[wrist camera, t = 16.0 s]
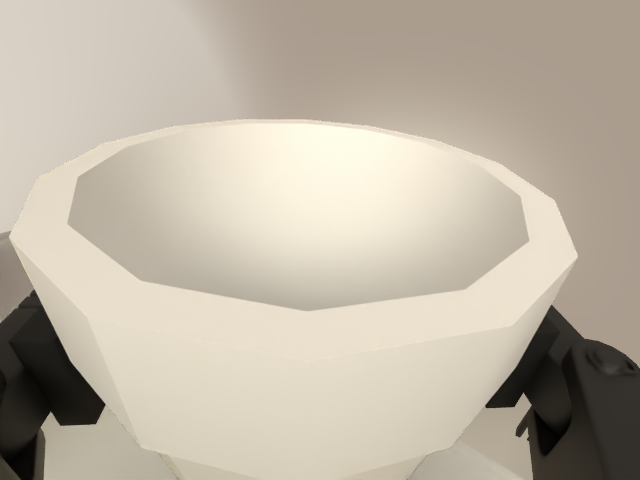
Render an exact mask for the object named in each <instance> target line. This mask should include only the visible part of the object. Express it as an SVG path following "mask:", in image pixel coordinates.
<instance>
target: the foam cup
mask: <svg viewBox="0 0 640 480" xmlns="http://www.w3.org/2000/svg"><path fill="white" fill-rule="evenodd" d="M9 239H10V241H11V243H12V245H13V247H14V249H15V251H16V253H17V255H18V257H19V259H20V261H21V263H22V265H23V267H24V269H25V271H26V273H27V275H28V277H29V279H30V281H31V283H32V285H33V287H34V289H35V291H36V293H37V295H38V297H39V299H40V301H41V303H42V305H43V307H44V309H45V311H46V313H47V315H48V317H49V319H50V321H51V323H52V325H53V327H54V329H55V331H56V333H57V335H58V337H59V339H60V341H61V343H62V345H63V347H64V349H65V351H66V353H67V355H68V357H69V359H70V361H71V362H72V364H73V365H74V366H75V367H76V369H77V370H78V371H79V372H80V373H81V375H82V376H83V377H84V378H85V380H86V381H87V382H88V383H89V384H90V386H91V387H92V388H93V389H94V391H95V392H96V393H97V394H98V395H99V397H100V398H101V399H102V400H103V402H104V403H105V404H106V405H107V406H108V408H109V409H110V410H111V411H112V412H113V414H114V415H115V416H116V417H117V419H118V420H119V421H120V422H121V423H122V425H123V426H124V427H125V428H126V430H127V431H128V432H129V433H130V434H131V436H132V437H133V438H134V439H135V441H136V442H137V443H138V444H139V445H140V447H141V448H143V449H147V450H151V451H155V452H158V453H159V454H160V455H161V457H162V458H163V459H164V461H165V462H166V463H167V465H168V466H169V467H170V469H171V470H172V471H173V473H174V474H175V475H176V477H177V478H178V479H179V480H407V479H408V478H409V477H410V476H411V474H412V473H413V472H414V471H415V469H416V468H417V467H418V466H419V465H420V463H421V462H422V461H423V460H424V458H425V457H426V456H427V455H428V454H430V453H434V452H437V451H441V450H445V449H448V448H451V447H452V445H453V444H454V443H455V442H456V441H457V439H458V438H459V437H460V436H461V434H462V433H463V432H464V431H465V429H466V428H467V427H468V426H469V425H470V423H471V422H472V421H473V419H474V418H475V417H476V416H477V415H478V413H479V412H480V411H481V410H482V409H483V407H484V406H485V405H486V404H487V402H488V401H489V400H490V399H491V397H492V396H493V395H494V394H495V393H496V391H497V390H498V389H499V388H500V386H501V385H502V384H503V383H504V381H505V380H506V379H507V378H508V377H509V375H510V374H511V373H512V372H513V370H514V369H515V368H516V366H517V364H518V363H519V361H520V359H521V357H522V356H523V354H524V352H525V350H526V349H527V347H528V345H529V343H530V341H531V340H532V338H533V336H534V334H535V333H536V331H537V329H538V327H539V325H540V324H541V322H542V320H543V318H544V317H545V315H546V313H547V311H548V309H549V308H550V306H551V304H552V302H553V301H554V299H555V297H556V295H557V294H558V291H559V290H560V288H561V286H562V285H563V283H564V281H565V279H566V278H567V276H568V274H569V272H570V270H571V269H572V267H573V265H574V263H575V262H576V260H577V258H578V255H577V252H576V250H575V248H574V245H573V243H572V241H571V238H570V236H569V233H568V231H567V229H566V226H565V224H564V221H563V219H562V217H561V214H560V212H559V209H558V207H557V205H556V203H555V201H554V200H553V199H552V198H550V197H549V196H547V195H546V194H544V193H543V192H541V191H540V190H538V189H537V188H535V187H534V186H532V185H531V184H529V183H528V182H526V181H525V180H523V179H522V178H520V177H519V176H517V175H516V174H515V173H513V172H512V171H510V170H508V169H507V168H506V167H504V166H502V165H501V164H500V163H497V162H494V161H492V160H489V159H486V158H483V157H481V156H478V155H475V154H473V153H470V152H467V151H465V150H462V149H459V148H456V147H454V146H451V145H448V144H445V143H443V142H440V141H437V140H433V139H429V138H424V137H419V136H415V135H409V134H406V133H401V132H396V131H391V130H387V129H382V128H378V127H373V126H364V125H355V124H344V123H336V122H326V121H316V120H301V119H298V120H297V119H295V120H294V119H291V120H290V119H289V120H288V119H285V120H284V119H239V120H229V121H218V122H209V123H200V124H189V125H179V126H171V127H168V128H164V129H159V130H155V131H151V132H147V133H143V134H139V135H135V136H131V137H127V138H123V139H119V140H115V141H111V142H107V143H103V144H101V145H99V146H97V147H95V148H93V149H91V150H89V151H87V152H86V153H84V154H82V155H80V156H78V157H76V158H74V159H72V160H70V161H68V162H67V163H65V164H63V165H61V166H59V167H57V168H55V169H53V170H52V171H50V172H48V173H46V174H44V175H42V176H40V177H38V178H37V180H36V182H35V184H34V186H33V188H32V190H31V192H30V194H29V196H28V198H27V200H26V203H25V205H24V207H23V209H22V211H21V213H20V215H19V217H18V219H17V221H16V223H15V226H14V228H13V229H12V232H11V234H10V236H9Z"/></svg>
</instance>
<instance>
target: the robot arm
mask: <svg viewBox="0 0 640 480" xmlns="http://www.w3.org/2000/svg"><path fill="white" fill-rule="evenodd" d="M18 306H19V307H18V309H14V310H13V312H12V313H11V314H10V315H9V316H8V317H7V318H6V319H5V320H4V321H3V322H2V323H1V324H0V480H43V478H44V459H45V437H44V433H43V431H42V430H41V428H40V427H41V426H42V424H43V423H44V421H45V419H46V418H47V416H48V415H49V413H50V411H51V412H52V413H53V415H54V417H55V418H56V420H57V422H58V423H59V425H60V426H66V425H90V424H96V423H97V421H98V419H99V417H100V415H101V413H102V411H103V409H104V407H105V405H106V404H105V403H104V402H103V400H102V399H101V398H100V397H99V395H98V394H97V393H96V392H95V391H94V389H93V388H92V387H91V386H90V384H89V383H88V382H87V381H86V380H85V378H84V377H83V376H82V375H81V373H80V372H79V371H78V370H77V369H76V367H75V366H74V365H73V364H72V362H71V361H70V359H69V357H68V355H67V353H66V351H65V349H64V347H63V345H62V343H61V341H60V339H59V337H58V335H57V333H56V331H55V329H54V327H53V325H52V323H51V321H50V319H49V317H48V315H47V313H46V311H45V309H44V307H43V305H42V303H41V301H40V299H39V297H38V295H37V293H36V291H35V289H34V290H33V291H32V292H31V293H30V297H26V298H25V299H24V300H23V301H22V302H21V303H20V304H19V305H18ZM523 392H524V394H525V395H526V397H527V398H528V400H529V401H530V403H531V404H532V406H531V407H530V409H529V410H528V412H527V414H526V415H525V416H524V418H523V419H522V421H521V423H520V424H519V425H518V427H517V429H516V436H518V437H521V435H522V434H523V433H524V431H525V430H526V428H527V427H528V435H529V437H528V438H527V440H528V441H529V444H530V453H531V462H532V472H533V480H640V368H639V367H638V366H637V364H636V363H634V362H633V361H632V360H631V359H630V358H629V357H627V356H626V355H625V354H623V353H622V352H620V351H618V350H617V349H615V348H613V347H612V346H609V345H607V344H604V343H602V342H599V341H594V340H589V339H584V338H583V337H582V336H581V335H580V334H579V333H578V332H577V331H576V330H575V329H574V328H573V327H572V325H571V324H570V323H569V322H567V320H566V319H565V318H564V317H563V316H562V315H561V314H560V313H559V312H558V311H557V310H556V309H555V308H554V307H553V306H552V305H551V306H550V308H549V309H548V311H547V313H546V315H545V317H544V318H543V320H542V322H541V324H540V325H539V327H538V329H537V331H536V333H535V334H534V336H533V338H532V340H531V341H530V343H529V345H528V347H527V349H526V350H525V352H524V354H523V356H522V357H521V359H520V361H519V363H518V364H517V366H516V368H515V369H514V370H513V372H512V373H511V374H510V375H509V377H508V378H507V379H506V380H505V381H504V383H503V384H502V385H501V386H500V388H499V389H498V390H497V391H496V393H495V394H494V395H493V396H492V397H491V399H490V400H489V401H488V402H487V404H486V405H485V406H486V408H501V407H515V405H516V403H517V402H518V400H519V399H520V397H521V395H522V394H523Z"/></svg>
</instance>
